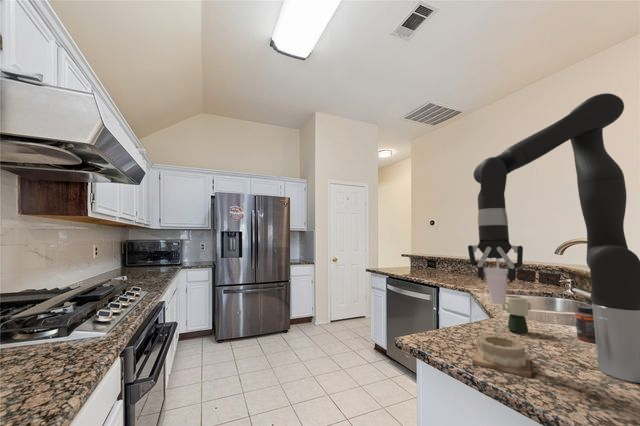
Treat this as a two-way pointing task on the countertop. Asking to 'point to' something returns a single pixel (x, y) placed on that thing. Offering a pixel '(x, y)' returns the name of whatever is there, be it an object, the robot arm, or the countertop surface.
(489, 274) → the smoothie
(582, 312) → the supplement bottle
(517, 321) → the character mug
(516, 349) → the bottle holder
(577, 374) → the countertop surface
